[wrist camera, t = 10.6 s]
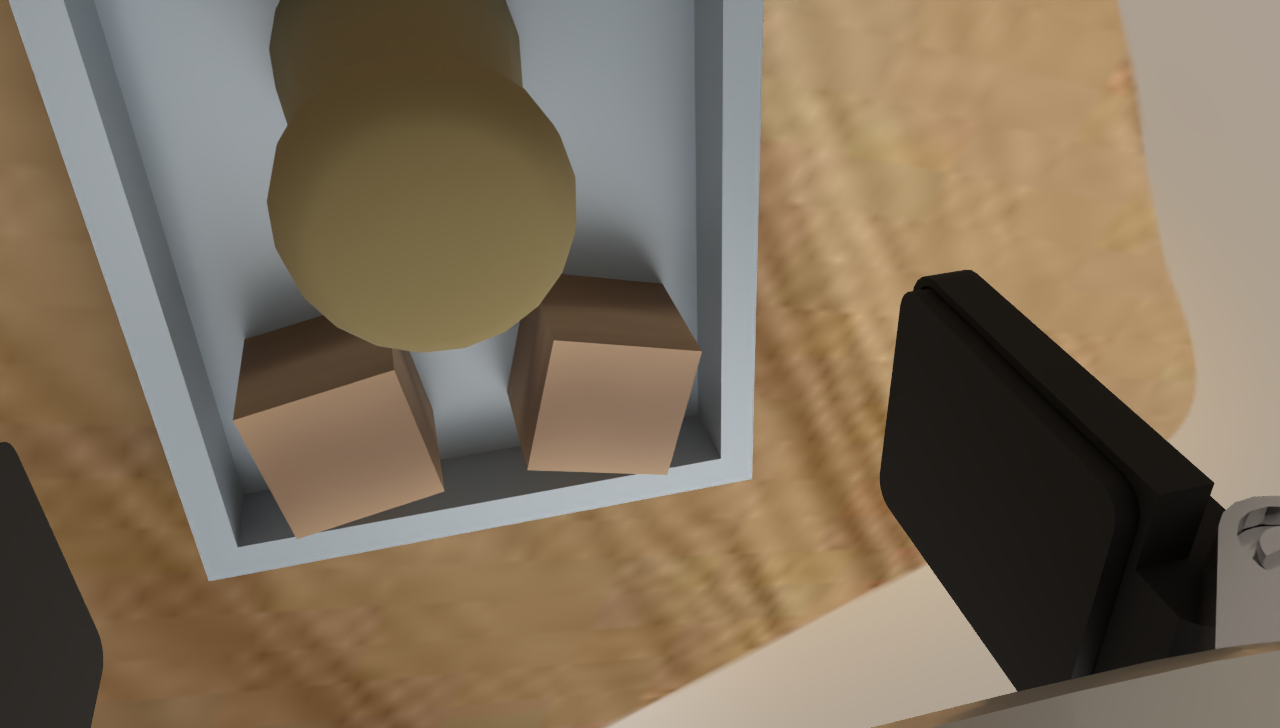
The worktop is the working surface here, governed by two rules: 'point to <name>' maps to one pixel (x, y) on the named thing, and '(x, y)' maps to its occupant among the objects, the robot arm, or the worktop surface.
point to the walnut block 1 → (335, 425)
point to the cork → (415, 170)
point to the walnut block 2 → (602, 377)
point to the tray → (453, 379)
